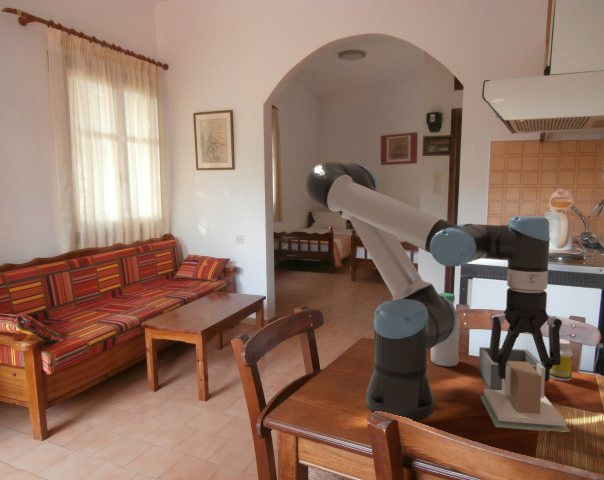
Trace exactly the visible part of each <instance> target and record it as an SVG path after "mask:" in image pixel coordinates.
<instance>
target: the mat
mask: <svg viewBox="0 0 604 480" xmlns="http://www.w3.org/2000/svg"><path fill="white" fill-rule="evenodd" d="M480 401H482V404H483V405H484V407H485V409H486V411H487V414H488V416H489V417H490V418H491V421H492V424H493V425H494V427H495V428H503V429H514V430H527V431H528V430H529V431H539V432H543V431H542V430H551V431H570V432H571V429H569V428H568V429H566V426H567V425H566V426H557V425H545V424H532V423H520V422H507V421H499V420H498V418H497V416H496V415H495V413H494V411H493V409H492V407H491V405H490V404H489V402H488V400H487V398H486V396H485V395H480Z"/></svg>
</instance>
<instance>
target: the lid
mask: <svg viewBox="0 0 604 480" xmlns="http://www.w3.org/2000/svg"><path fill="white" fill-rule="evenodd" d="M507 363H508V364H509V366H510V381H509V395H505V394H504V392H503V391H502V390H490V389H488V388H484V389H483V394H484V396H486V398H487V400H488V402H489V404H490V405H491V407H492V409H493V411H494V413H495V415H496V416H497V418H498V420H499V421H507V422H520V423H532V424H545V425H557V426H567V421H566V420H565V419H564V417H563V416H562V415H561V413H560V412H559V411H558V410H557V409H556V408H555V406H554V405H553V404H552V403H551V402H550V400H549V399H548V398H547V397H546V396H545V395H544V398H541V379H542V377H541V376H540V375H539V373H538V372H537V371H536V370H535V369H534V368H533V367H532V366H531V365H530V364H529V363H528V362H517V361H507Z"/></svg>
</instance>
